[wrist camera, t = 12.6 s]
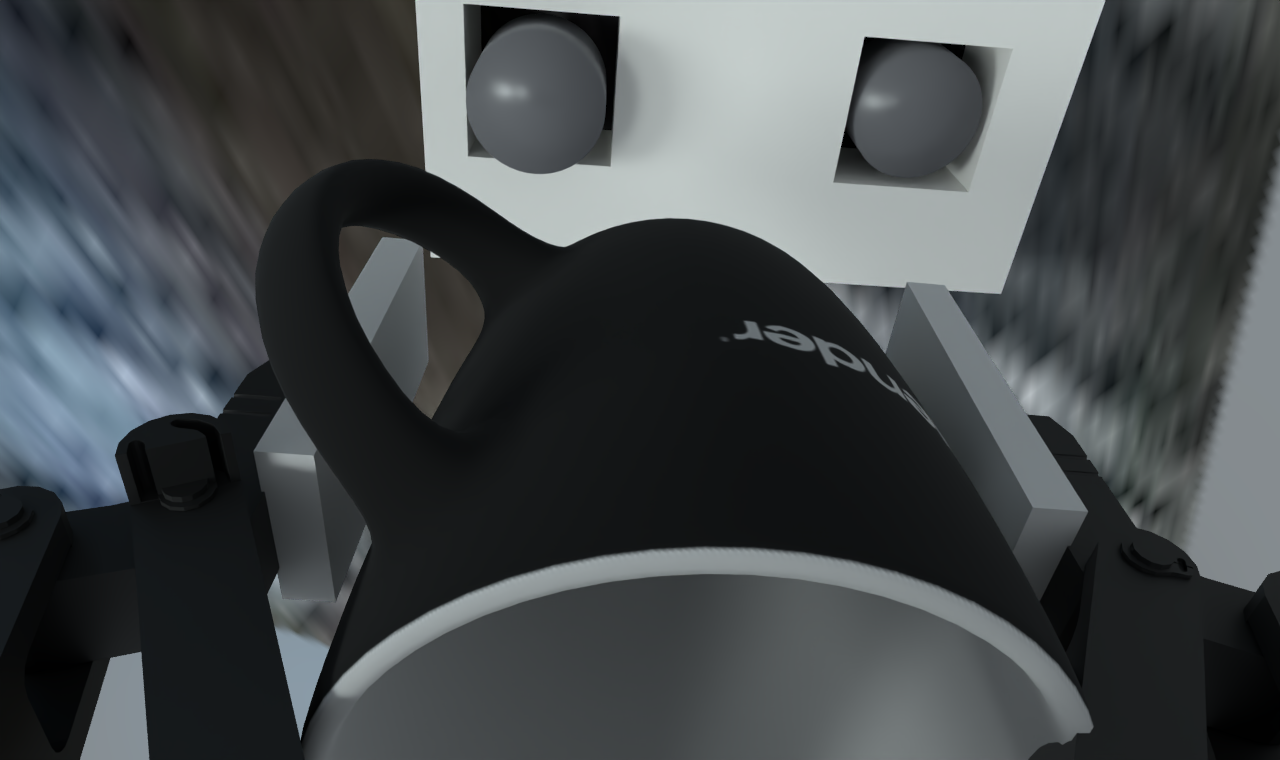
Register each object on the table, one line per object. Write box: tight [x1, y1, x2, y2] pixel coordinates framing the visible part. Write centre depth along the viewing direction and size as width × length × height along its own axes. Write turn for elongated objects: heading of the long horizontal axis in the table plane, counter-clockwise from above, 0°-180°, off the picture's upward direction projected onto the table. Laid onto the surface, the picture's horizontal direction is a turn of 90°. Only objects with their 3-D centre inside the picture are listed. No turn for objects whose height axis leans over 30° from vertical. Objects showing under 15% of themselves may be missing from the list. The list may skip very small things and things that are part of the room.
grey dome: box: [845, 38, 983, 178], centre depth 31 cm, size 4×4×3 cm
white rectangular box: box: [415, 0, 1105, 294], centre depth 31 cm, size 22×13×4 cm, turn 85°
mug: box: [255, 159, 1094, 760], centre depth 13 cm, size 12×9×10 cm
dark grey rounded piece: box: [466, 13, 607, 174], centre depth 29 cm, size 4×4×3 cm
